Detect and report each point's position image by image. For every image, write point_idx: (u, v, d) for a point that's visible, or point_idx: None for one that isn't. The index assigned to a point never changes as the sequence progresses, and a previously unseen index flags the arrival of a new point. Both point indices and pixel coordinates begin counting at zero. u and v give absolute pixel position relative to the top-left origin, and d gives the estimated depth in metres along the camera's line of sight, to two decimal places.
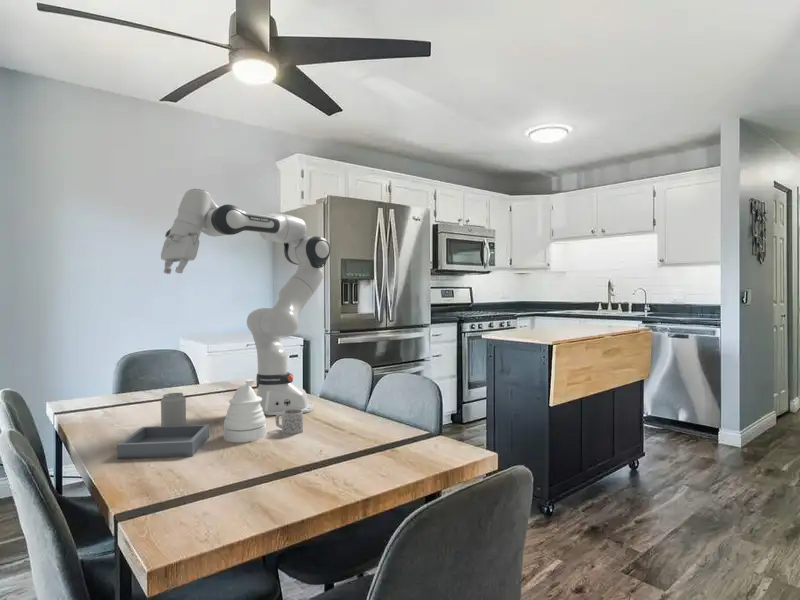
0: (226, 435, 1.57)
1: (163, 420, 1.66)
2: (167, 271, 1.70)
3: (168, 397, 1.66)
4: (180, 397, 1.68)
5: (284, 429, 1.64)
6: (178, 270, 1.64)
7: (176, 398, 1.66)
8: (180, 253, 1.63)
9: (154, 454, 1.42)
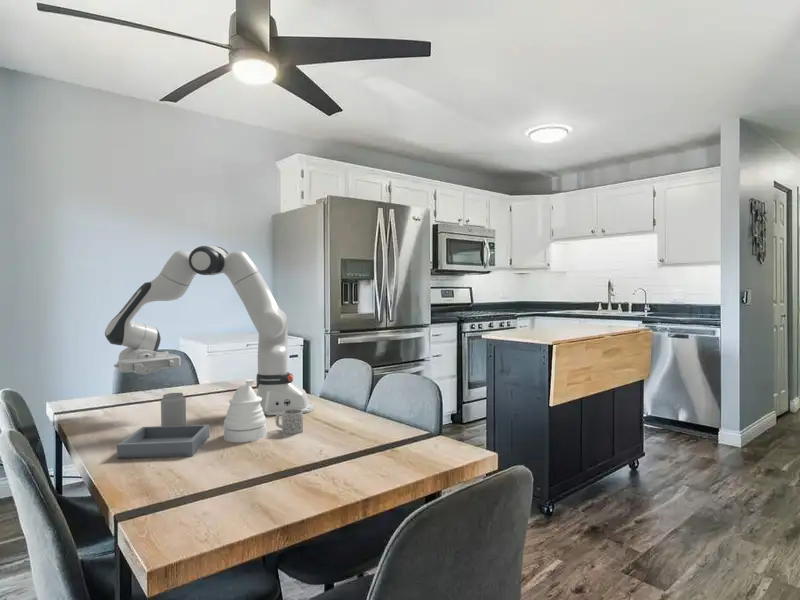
0: (226, 435, 1.57)
1: (163, 420, 1.66)
2: (169, 365, 1.80)
3: (168, 397, 1.66)
4: (180, 397, 1.68)
5: (284, 429, 1.64)
6: (141, 369, 1.73)
7: (176, 398, 1.66)
8: (132, 371, 1.76)
9: (154, 454, 1.42)
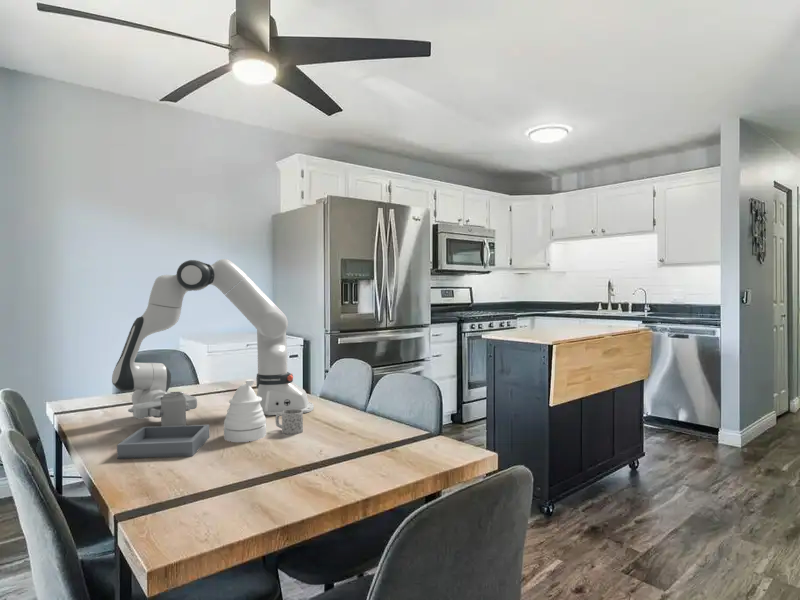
0: (226, 435, 1.57)
1: (163, 420, 1.66)
2: None
3: (168, 397, 1.66)
4: (180, 397, 1.68)
5: (284, 429, 1.64)
6: (157, 414, 1.65)
7: (176, 398, 1.66)
8: None
9: (154, 454, 1.42)
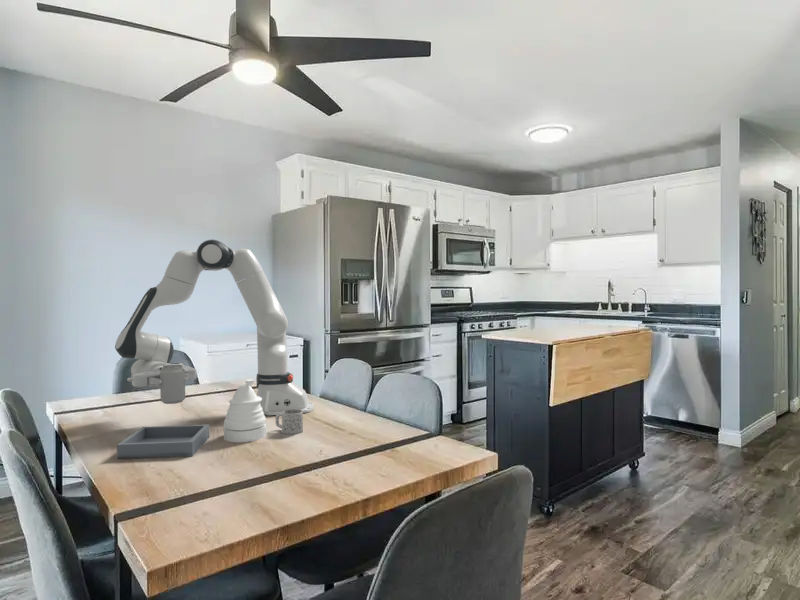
0: (226, 435, 1.57)
1: (162, 391, 1.65)
2: None
3: (167, 368, 1.65)
4: (179, 369, 1.67)
5: (284, 429, 1.64)
6: (156, 383, 1.64)
7: (175, 369, 1.66)
8: (146, 385, 1.67)
9: (154, 454, 1.42)
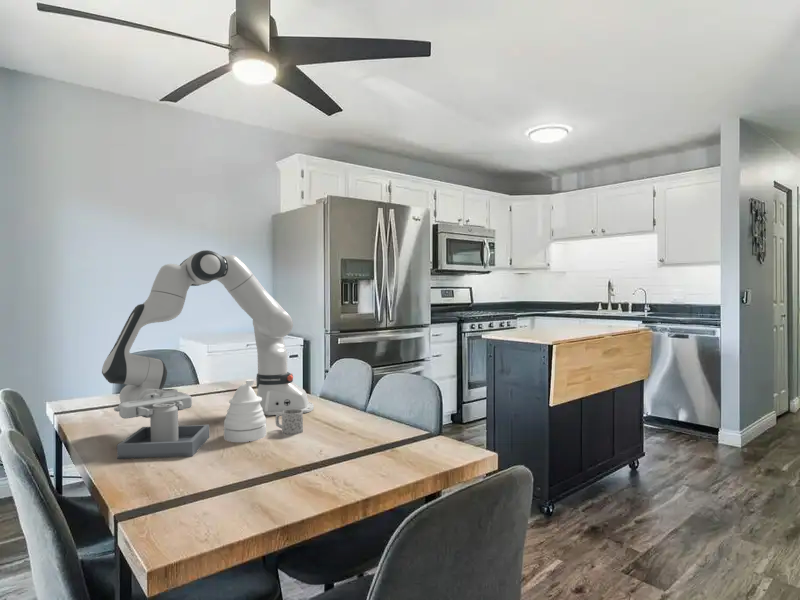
0: (226, 435, 1.57)
1: (152, 433, 1.48)
2: (178, 408, 1.53)
3: (157, 407, 1.48)
4: (171, 407, 1.49)
5: (284, 429, 1.64)
6: (147, 414, 1.46)
7: (166, 408, 1.48)
8: None
9: (154, 454, 1.42)
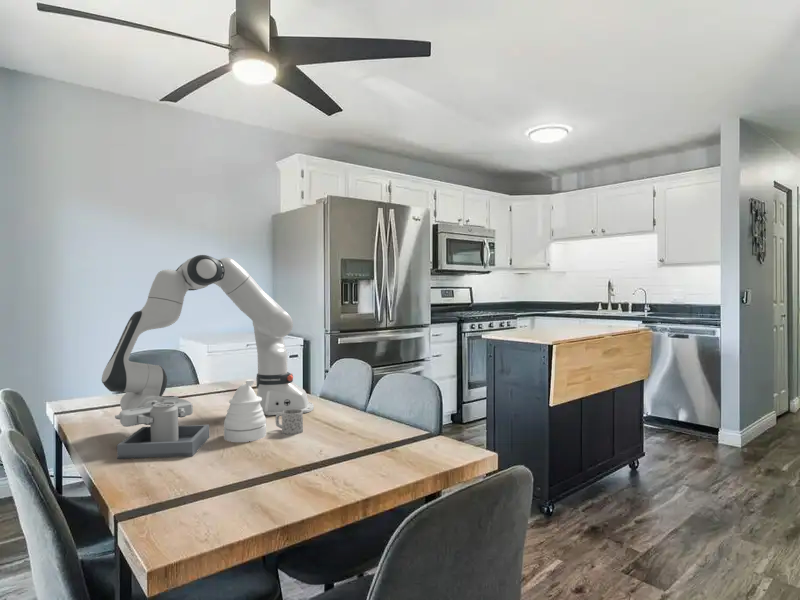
0: (226, 435, 1.57)
1: (152, 433, 1.48)
2: (180, 415, 1.53)
3: (157, 407, 1.48)
4: (171, 407, 1.49)
5: (284, 429, 1.64)
6: (147, 422, 1.46)
7: (166, 408, 1.48)
8: None
9: (154, 454, 1.42)
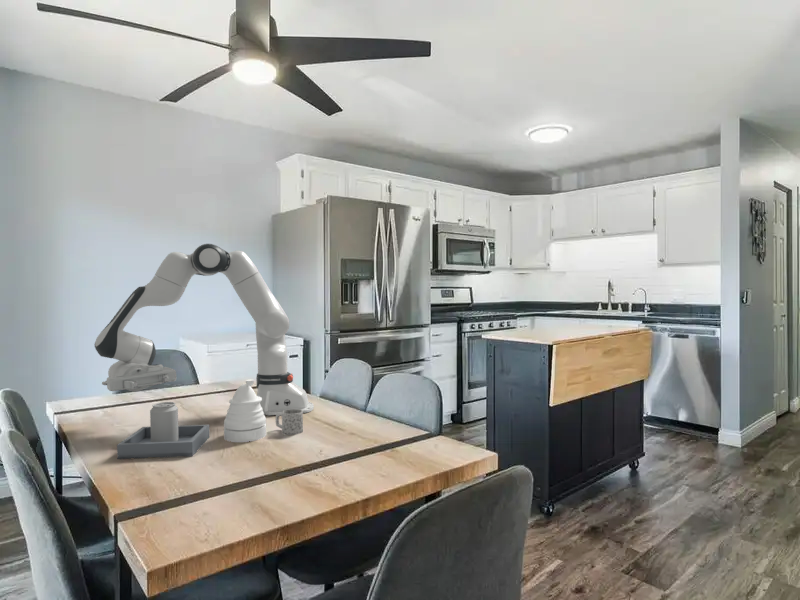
0: (226, 435, 1.57)
1: (152, 433, 1.48)
2: (163, 380, 1.62)
3: (157, 407, 1.48)
4: (171, 407, 1.49)
5: (284, 429, 1.64)
6: (132, 386, 1.55)
7: (166, 408, 1.48)
8: None
9: (154, 454, 1.42)
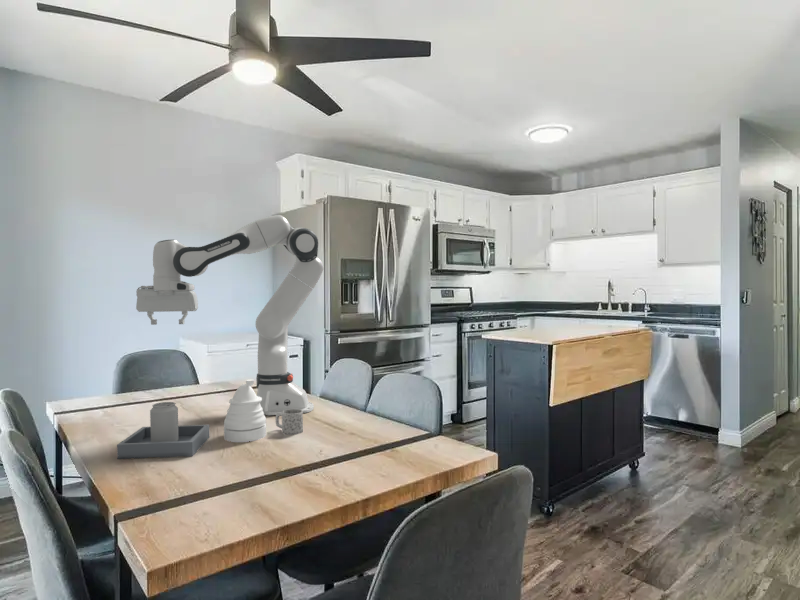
0: (226, 435, 1.57)
1: (152, 433, 1.48)
2: None
3: (157, 407, 1.48)
4: (171, 407, 1.49)
5: (284, 429, 1.64)
6: None
7: (166, 408, 1.48)
8: None
9: (154, 454, 1.42)
